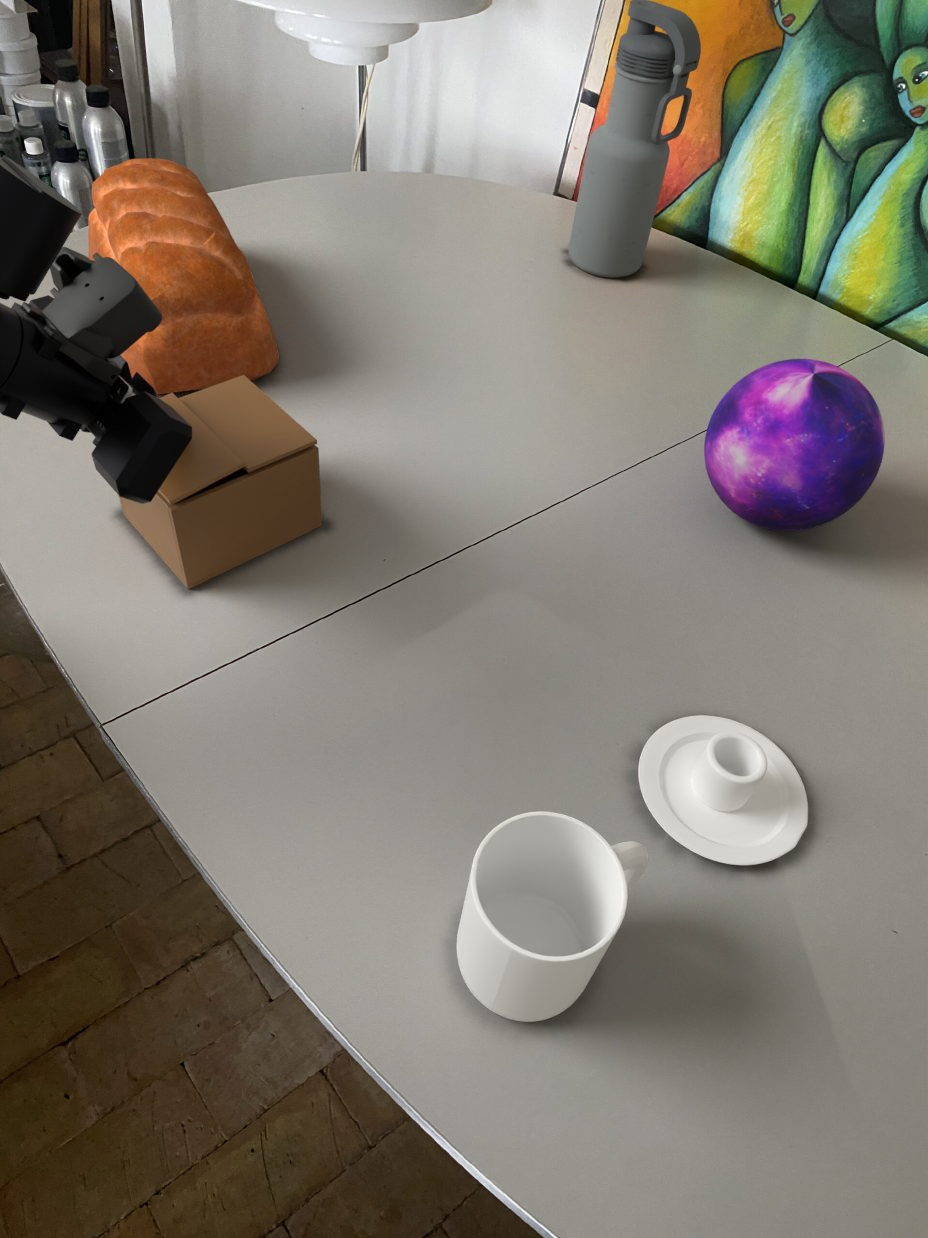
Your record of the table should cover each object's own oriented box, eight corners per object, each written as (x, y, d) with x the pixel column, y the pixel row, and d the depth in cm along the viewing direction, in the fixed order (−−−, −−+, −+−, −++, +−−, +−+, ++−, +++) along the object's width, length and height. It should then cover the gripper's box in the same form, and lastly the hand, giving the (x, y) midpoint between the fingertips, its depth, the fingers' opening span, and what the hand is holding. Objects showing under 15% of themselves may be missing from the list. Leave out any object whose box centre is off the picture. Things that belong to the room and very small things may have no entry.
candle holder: (834, 855, 60) (861, 824, 56) (671, 883, 57) (690, 853, 54) (759, 712, 67) (780, 678, 64) (613, 731, 65) (626, 697, 61)
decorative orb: (667, 458, 87) (713, 322, 76) (809, 460, 89) (873, 327, 78) (708, 565, 77) (767, 427, 66) (866, 565, 79) (949, 430, 68)
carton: (188, 589, 70) (169, 502, 63) (123, 514, 75) (99, 425, 68) (322, 525, 76) (318, 439, 69) (254, 460, 81) (244, 373, 74)
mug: (588, 845, 58) (623, 763, 51) (664, 955, 54) (714, 883, 46) (430, 926, 54) (442, 849, 46) (499, 1054, 49) (524, 992, 42)
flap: (170, 505, 64) (169, 501, 63) (101, 429, 69) (100, 425, 68) (245, 466, 66) (244, 462, 66) (173, 395, 71) (172, 391, 71)
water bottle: (658, 265, 114) (724, 14, 93) (616, 289, 109) (676, 29, 88) (595, 236, 118) (646, -11, 97) (552, 258, 113) (595, 2, 92)
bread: (135, 406, 85) (105, 279, 75) (85, 255, 103) (56, 136, 93) (290, 380, 90) (282, 258, 81) (217, 240, 108) (203, 127, 99)
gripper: (134, 306, 48) (311, 407, 61) (-5, 178, 56) (177, 292, 70) (33, 471, 50) (225, 534, 64) (-87, 324, 58) (106, 407, 72)
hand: (183, 434), depth 67 cm, fingers closed
